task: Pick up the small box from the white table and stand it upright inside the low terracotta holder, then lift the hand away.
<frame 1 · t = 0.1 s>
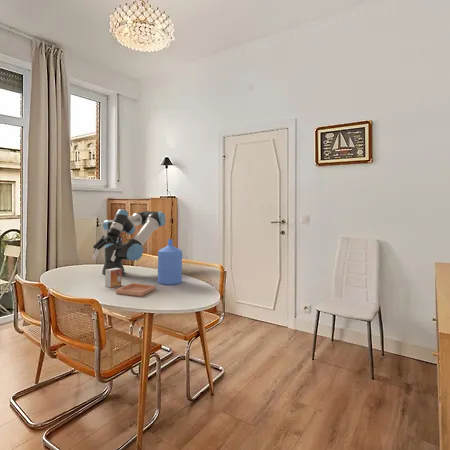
hand: (102, 259, 204), 15 cm above the table, tool tilted 35°, fingers open, 13 cm apart
small box: (113, 286, 201), on the table
water jug: (169, 282, 214), on the table
holder: (136, 291, 190), on the table
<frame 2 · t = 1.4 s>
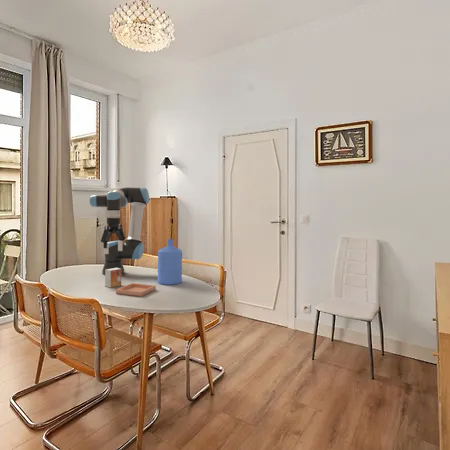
hand: (113, 252, 200), 21 cm above the table, tool pointing down, fingers open, 13 cm apart
nothing on the table moved.
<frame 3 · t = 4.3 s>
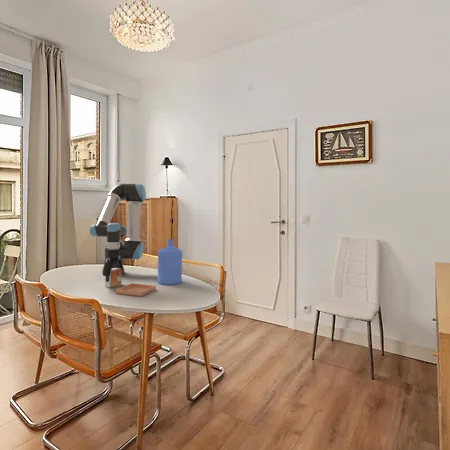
hand: (113, 284, 201), 1 cm above the table, tool pointing down, fingers closed on small box, 9 cm apart
small box: (113, 286, 201), on the table, touching gripper
everything else where it was.
when the fingers open (3 cm above the table, at t = 12.0 s): small box drops 2 cm, resting on holder.
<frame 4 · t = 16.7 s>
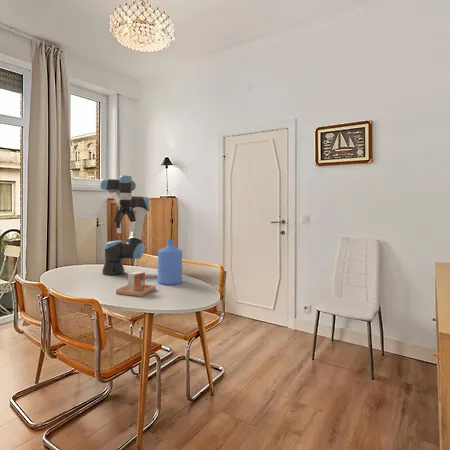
hand: (125, 232, 214), 32 cm above the table, tool pointing down, fingers open, 13 cm apart
small box: (136, 291, 190), resting on holder
everything else where it was.
at the end: small box inside the target area on the holder (0.1 cm from its centre), point 0.4 cm above the holder's base; small box tilted 0°; the gripper is holding nothing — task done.
